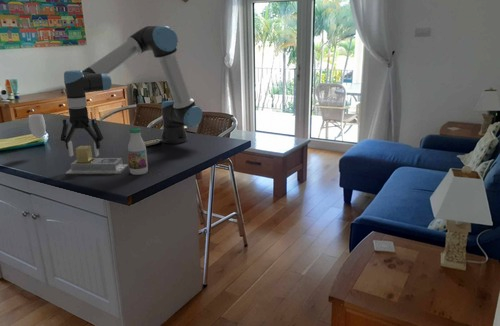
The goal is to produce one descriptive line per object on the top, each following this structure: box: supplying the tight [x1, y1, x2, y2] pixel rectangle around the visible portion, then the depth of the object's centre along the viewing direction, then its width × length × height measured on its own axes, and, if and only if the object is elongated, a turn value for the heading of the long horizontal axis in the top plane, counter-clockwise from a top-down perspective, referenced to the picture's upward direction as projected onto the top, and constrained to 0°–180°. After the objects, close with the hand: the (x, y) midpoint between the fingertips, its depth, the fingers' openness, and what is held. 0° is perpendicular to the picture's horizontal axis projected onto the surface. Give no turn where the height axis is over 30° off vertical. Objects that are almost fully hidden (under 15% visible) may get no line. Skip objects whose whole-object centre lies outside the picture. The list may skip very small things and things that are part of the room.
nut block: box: [75, 145, 94, 163], centre depth 181 cm, size 5×5×10 cm
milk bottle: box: [127, 127, 149, 176], centre depth 176 cm, size 8×8×20 cm
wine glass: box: [28, 113, 46, 139], centre depth 202 cm, size 7×7×21 cm
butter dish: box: [65, 157, 129, 175], centre depth 182 cm, size 24×12×4 cm, turn 89°
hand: (84, 155), depth 181 cm, fingers open, 11 cm apart
